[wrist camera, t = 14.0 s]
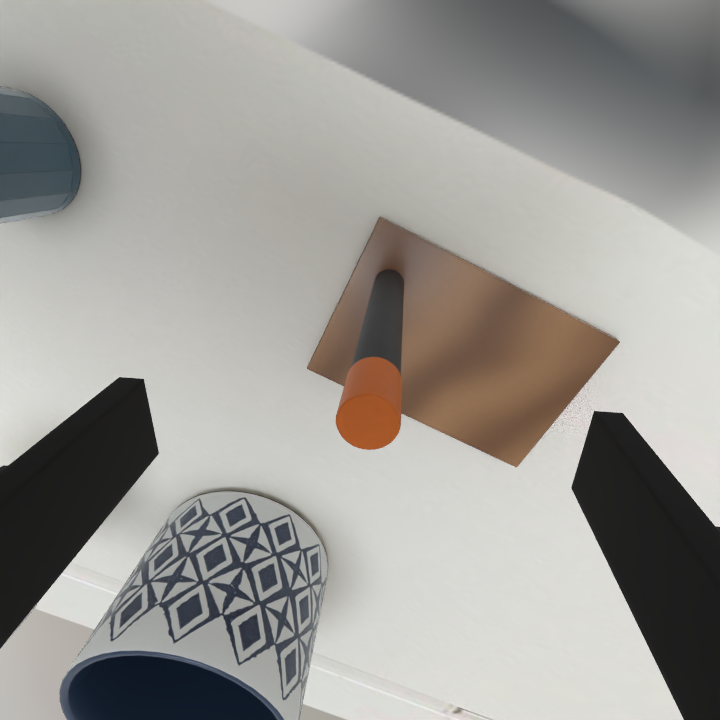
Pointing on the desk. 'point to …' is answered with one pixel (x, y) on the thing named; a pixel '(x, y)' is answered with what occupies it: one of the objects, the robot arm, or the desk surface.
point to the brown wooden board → (467, 346)
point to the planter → (208, 620)
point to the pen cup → (34, 158)
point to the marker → (376, 370)
